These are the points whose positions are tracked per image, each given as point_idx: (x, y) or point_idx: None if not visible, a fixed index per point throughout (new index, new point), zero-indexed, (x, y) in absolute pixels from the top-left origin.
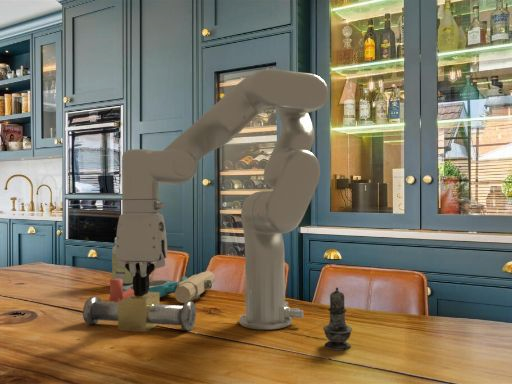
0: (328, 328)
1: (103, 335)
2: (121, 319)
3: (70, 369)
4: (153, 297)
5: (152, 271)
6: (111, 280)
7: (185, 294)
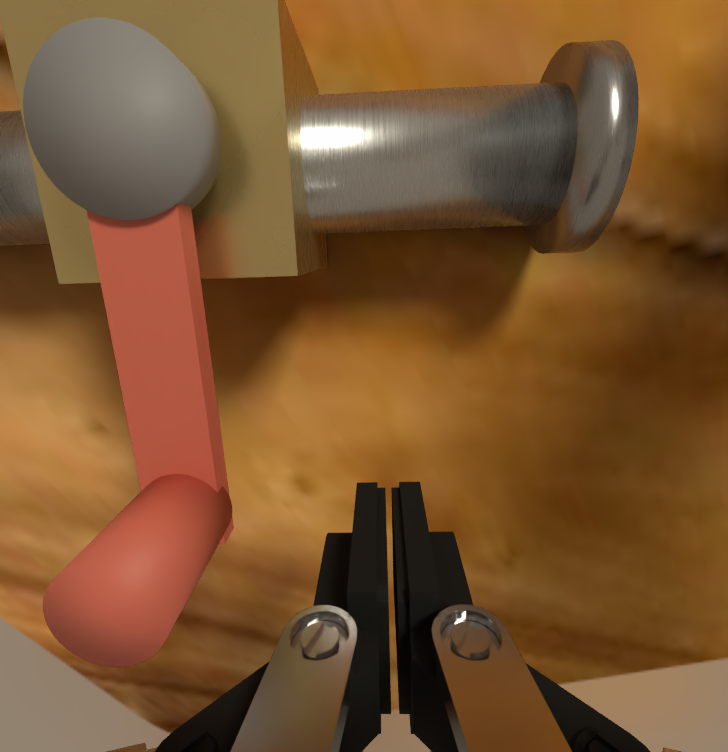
0: None
1: None
2: None
3: None
4: (290, 128)
5: (546, 684)
6: (94, 660)
7: None
